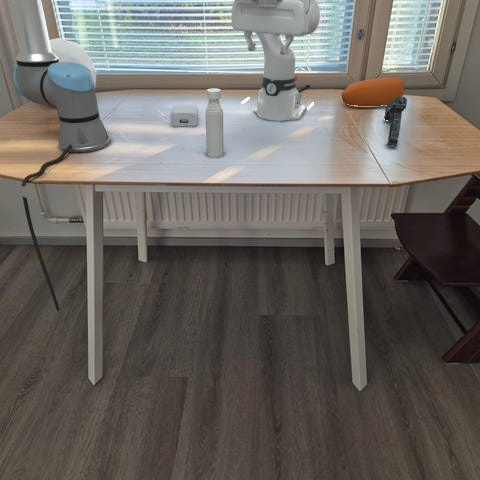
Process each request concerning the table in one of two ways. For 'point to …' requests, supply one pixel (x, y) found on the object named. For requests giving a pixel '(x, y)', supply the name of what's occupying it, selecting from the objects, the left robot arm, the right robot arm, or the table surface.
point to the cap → (213, 93)
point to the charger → (184, 116)
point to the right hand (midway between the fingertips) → (267, 52)
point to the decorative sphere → (72, 54)
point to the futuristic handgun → (395, 118)
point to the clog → (373, 92)
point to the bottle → (214, 128)
